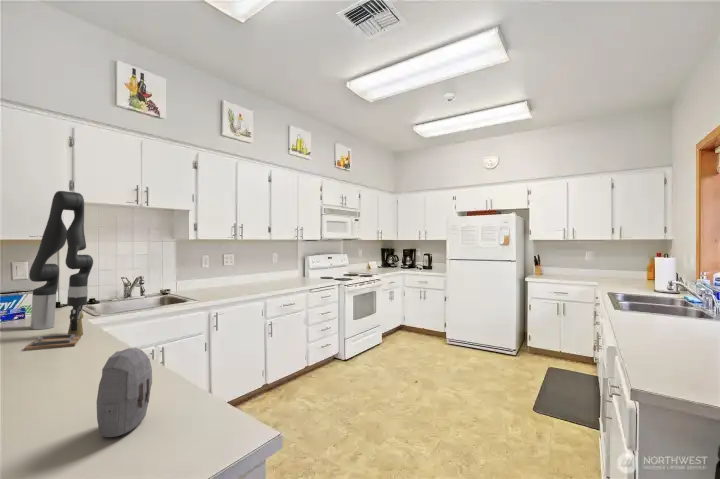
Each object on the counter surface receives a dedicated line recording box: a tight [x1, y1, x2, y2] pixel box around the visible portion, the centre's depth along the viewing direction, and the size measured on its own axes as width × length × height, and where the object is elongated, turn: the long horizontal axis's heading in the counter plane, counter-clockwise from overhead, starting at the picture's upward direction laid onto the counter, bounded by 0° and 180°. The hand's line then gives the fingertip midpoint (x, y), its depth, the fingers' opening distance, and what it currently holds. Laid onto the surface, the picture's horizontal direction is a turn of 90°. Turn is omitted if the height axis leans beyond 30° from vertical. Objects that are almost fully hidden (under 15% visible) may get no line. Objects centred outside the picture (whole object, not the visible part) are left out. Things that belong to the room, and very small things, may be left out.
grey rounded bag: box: [96, 347, 153, 438], centre depth 87 cm, size 15×8×20 cm, turn 4°
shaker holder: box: [24, 333, 82, 352], centre depth 153 cm, size 16×16×2 cm
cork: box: [67, 312, 84, 337], centre depth 168 cm, size 6×6×11 cm
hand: (75, 328), depth 168 cm, fingers open, 8 cm apart
